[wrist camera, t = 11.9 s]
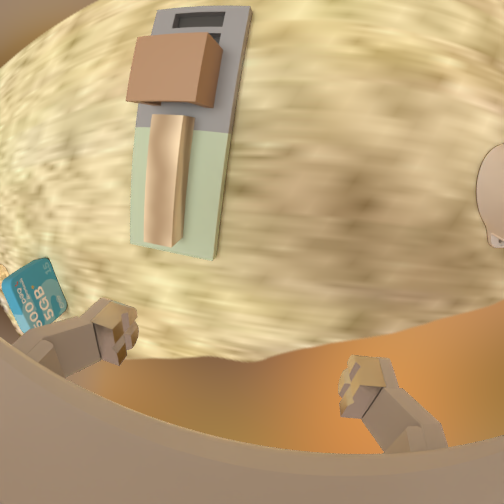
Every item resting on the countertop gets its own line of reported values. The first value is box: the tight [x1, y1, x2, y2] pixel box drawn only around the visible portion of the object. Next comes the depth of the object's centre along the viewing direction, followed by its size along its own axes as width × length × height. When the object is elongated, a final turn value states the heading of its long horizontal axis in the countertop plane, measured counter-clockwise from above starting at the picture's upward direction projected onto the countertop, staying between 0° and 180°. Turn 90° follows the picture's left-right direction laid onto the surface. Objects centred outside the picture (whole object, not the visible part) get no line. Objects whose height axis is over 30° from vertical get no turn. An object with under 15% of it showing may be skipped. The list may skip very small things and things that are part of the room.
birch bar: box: [144, 114, 195, 248], centre depth 34 cm, size 4×16×4 cm, turn 172°
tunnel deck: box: [126, 6, 252, 261], centre depth 31 cm, size 13×35×9 cm, turn 172°
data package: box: [1, 258, 67, 333], centre depth 44 cm, size 12×4×12 cm, turn 11°
